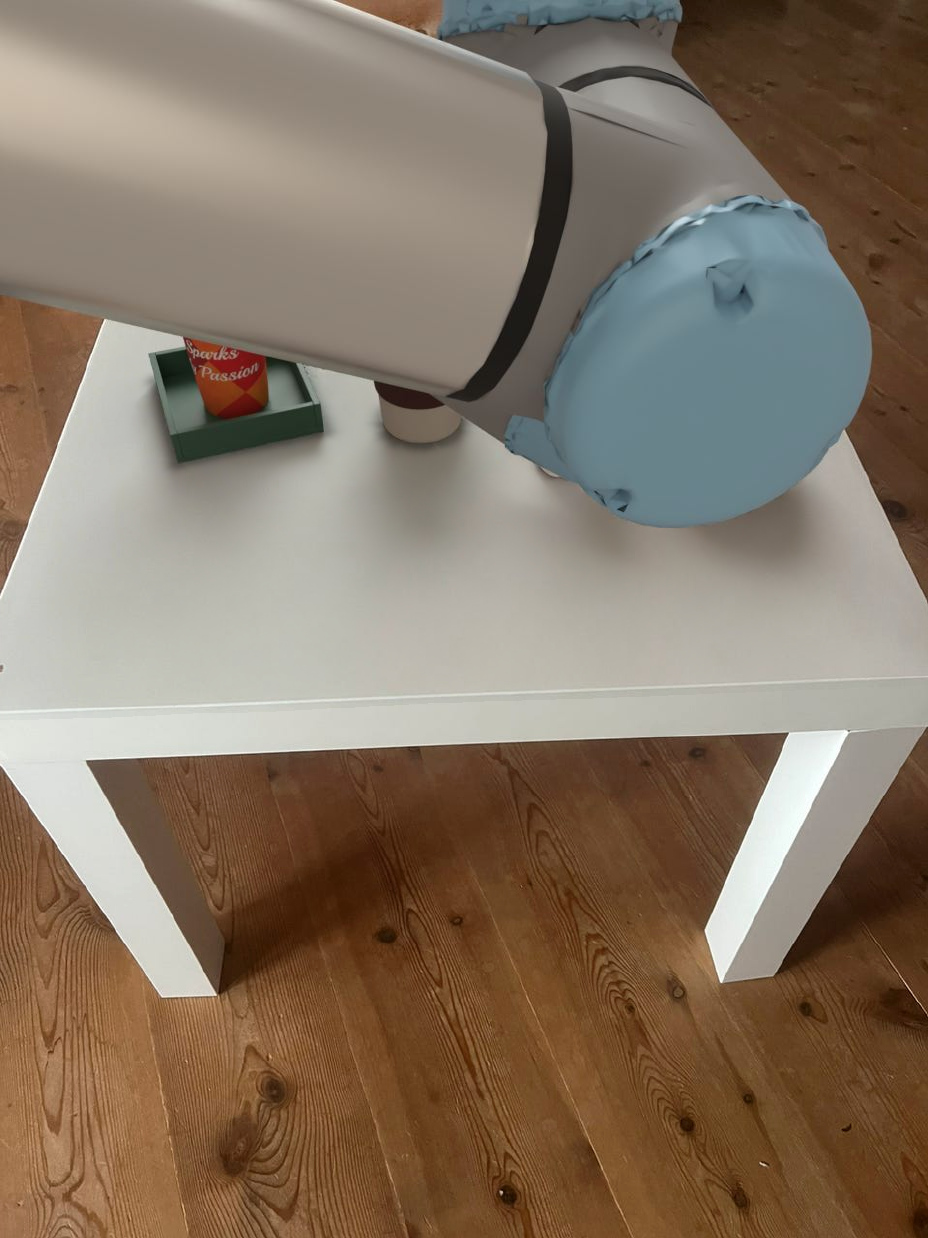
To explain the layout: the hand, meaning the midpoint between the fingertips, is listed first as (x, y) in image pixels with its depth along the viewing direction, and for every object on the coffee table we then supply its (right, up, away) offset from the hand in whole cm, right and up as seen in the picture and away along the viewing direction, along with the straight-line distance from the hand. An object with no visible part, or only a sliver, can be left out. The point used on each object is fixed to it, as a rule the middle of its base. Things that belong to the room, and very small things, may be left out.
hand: (140, 129), depth 57 cm
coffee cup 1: (-3, -7, +37) cm, 37 cm away
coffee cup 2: (+14, -10, +35) cm, 39 cm away
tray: (-3, -8, +37) cm, 38 cm away
